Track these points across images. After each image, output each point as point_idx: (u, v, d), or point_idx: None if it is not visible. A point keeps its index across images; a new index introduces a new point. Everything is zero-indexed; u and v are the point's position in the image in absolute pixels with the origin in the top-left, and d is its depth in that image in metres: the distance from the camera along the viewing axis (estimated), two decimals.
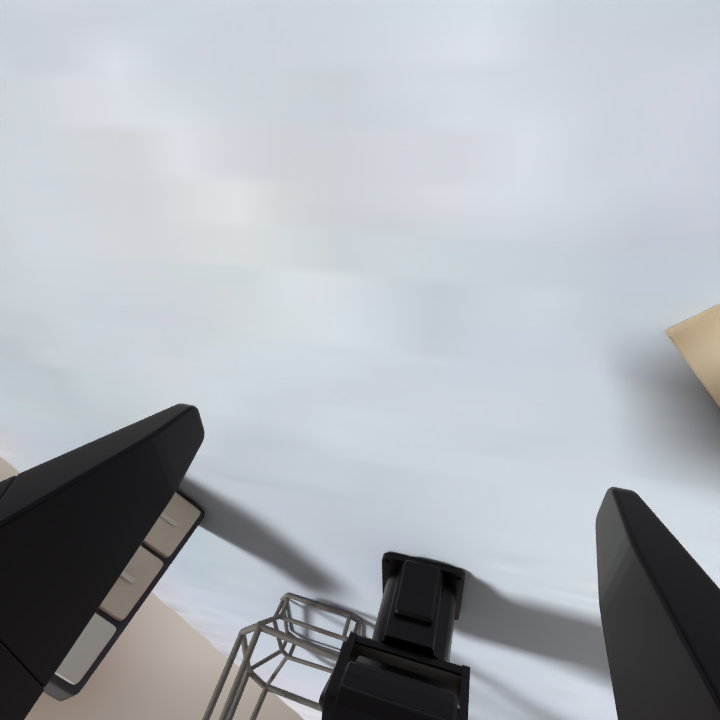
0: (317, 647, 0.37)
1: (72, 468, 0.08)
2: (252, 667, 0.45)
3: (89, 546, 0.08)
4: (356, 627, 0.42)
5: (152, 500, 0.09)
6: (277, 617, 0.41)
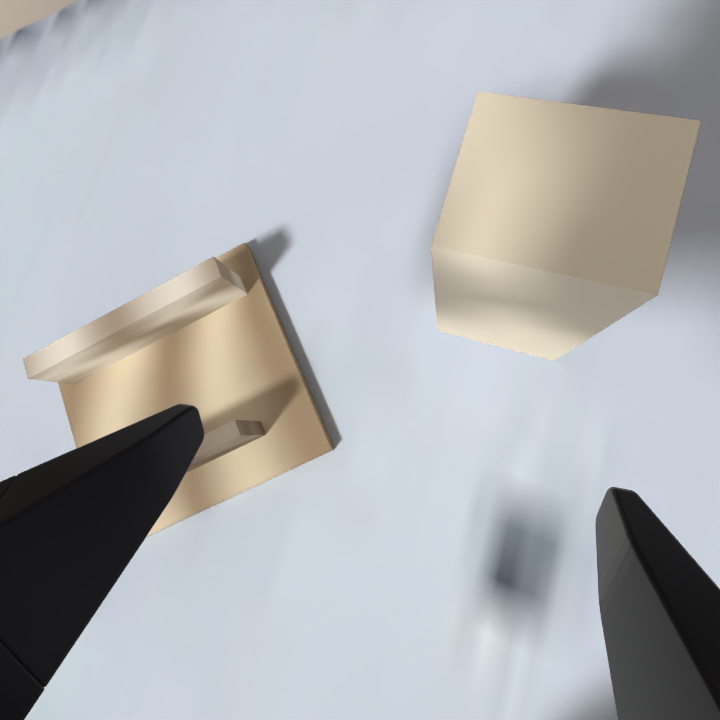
0: None
1: (72, 468, 0.08)
2: None
3: (89, 546, 0.08)
4: None
5: (152, 500, 0.09)
6: None
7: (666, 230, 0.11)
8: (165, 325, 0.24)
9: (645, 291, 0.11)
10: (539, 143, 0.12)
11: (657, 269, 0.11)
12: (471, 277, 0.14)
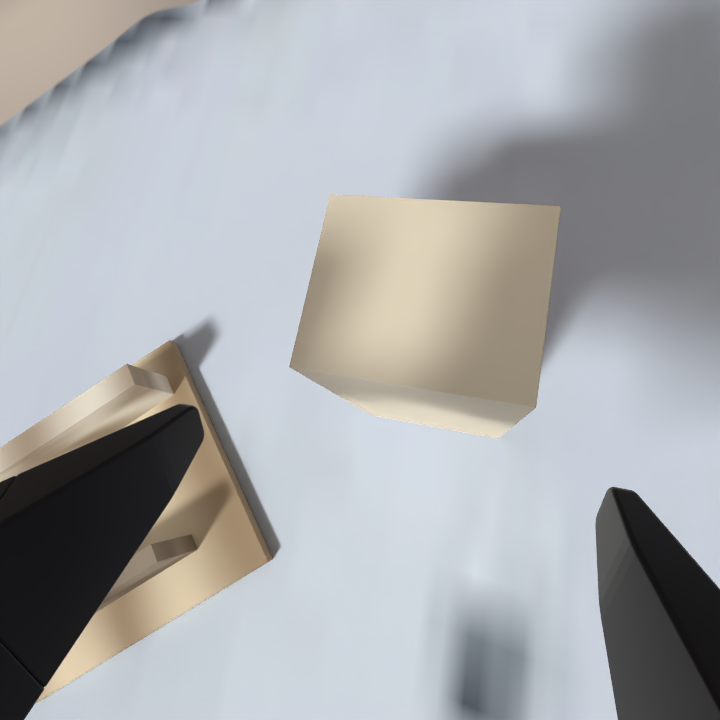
0: None
1: (72, 468, 0.08)
2: None
3: (89, 546, 0.08)
4: None
5: (152, 500, 0.09)
6: None
7: (537, 331, 0.10)
8: (87, 437, 0.23)
9: (522, 404, 0.10)
10: (396, 244, 0.11)
11: (532, 377, 0.10)
12: (353, 387, 0.13)
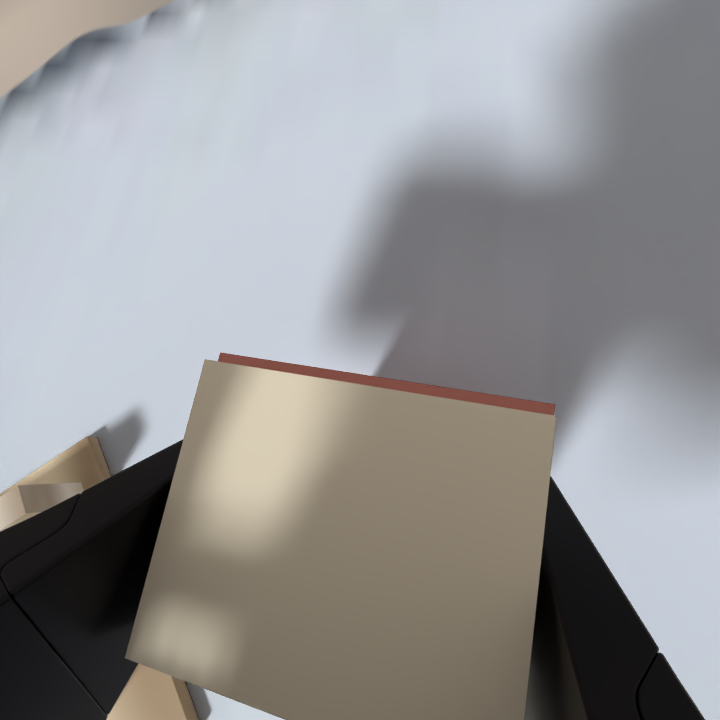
0: None
1: (137, 485, 0.08)
2: None
3: None
4: None
5: None
6: None
7: (517, 653, 0.06)
8: None
9: None
10: (296, 456, 0.07)
11: None
12: None
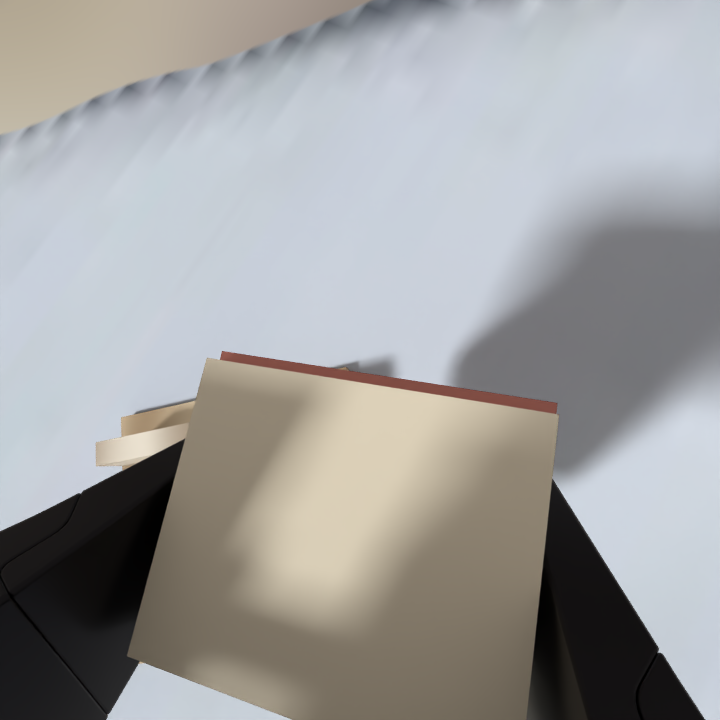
0: None
1: (137, 485, 0.08)
2: None
3: None
4: None
5: None
6: None
7: (519, 652, 0.06)
8: None
9: None
10: (298, 455, 0.07)
11: None
12: None
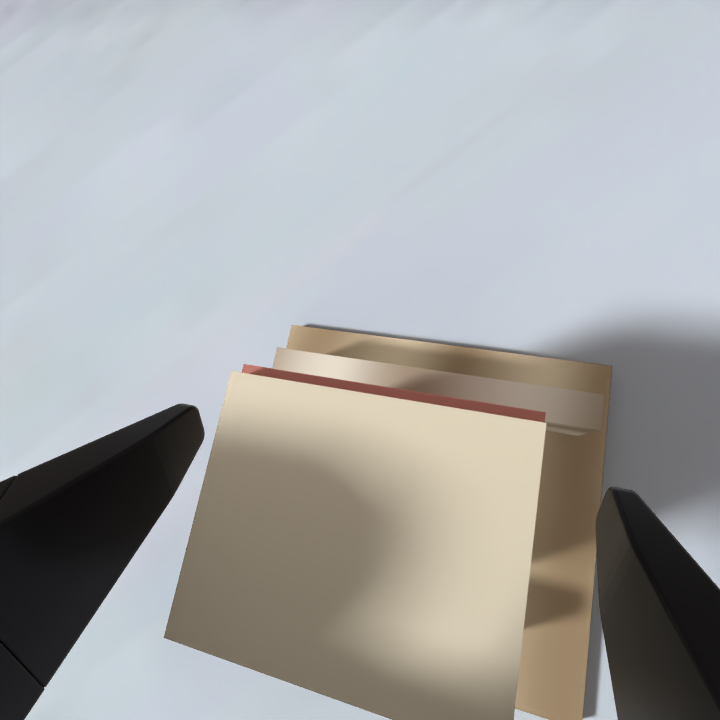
0: None
1: (72, 468, 0.08)
2: None
3: (89, 546, 0.08)
4: None
5: (152, 500, 0.09)
6: None
7: (511, 630, 0.07)
8: None
9: None
10: (315, 458, 0.08)
11: (503, 708, 0.07)
12: None
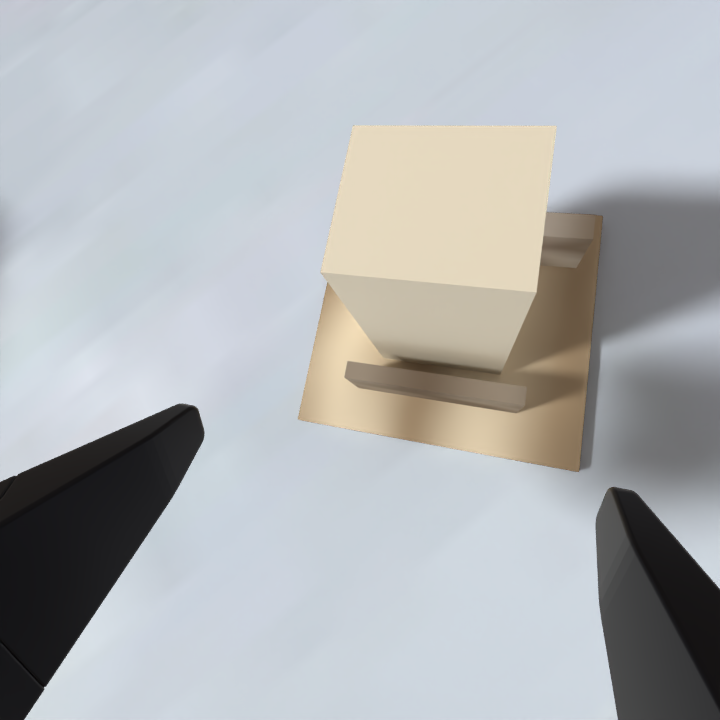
0: None
1: (72, 468, 0.08)
2: None
3: (89, 546, 0.08)
4: None
5: (152, 500, 0.09)
6: None
7: (537, 230, 0.12)
8: None
9: (524, 290, 0.11)
10: (412, 165, 0.13)
11: (533, 268, 0.11)
12: (374, 298, 0.14)
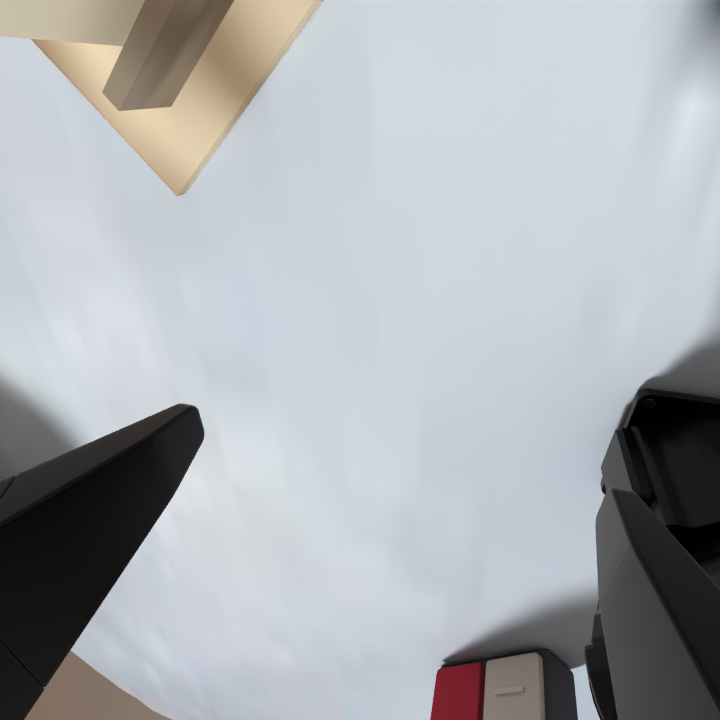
0: None
1: (72, 468, 0.08)
2: None
3: (89, 546, 0.08)
4: None
5: (152, 500, 0.09)
6: None
7: None
8: None
9: None
10: None
11: None
12: None
